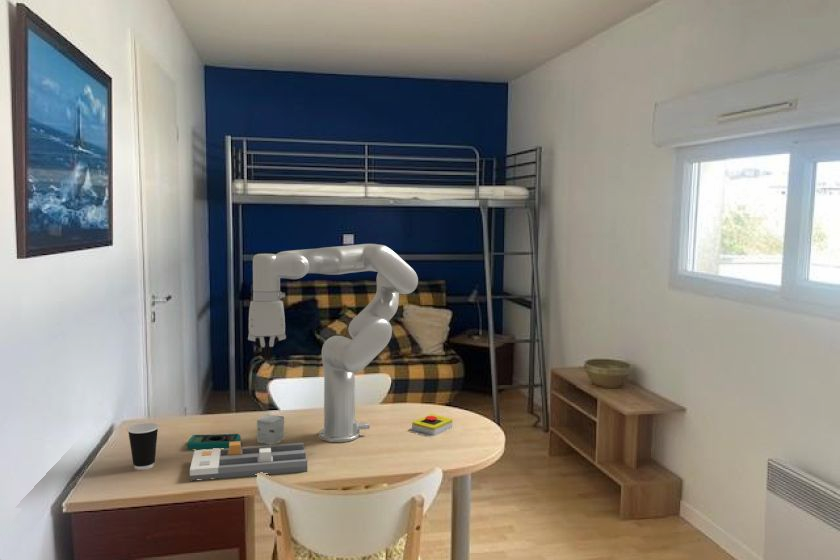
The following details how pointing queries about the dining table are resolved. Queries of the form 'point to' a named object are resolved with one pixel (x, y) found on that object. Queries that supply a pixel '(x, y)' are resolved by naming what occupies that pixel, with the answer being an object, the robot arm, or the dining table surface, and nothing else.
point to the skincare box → (270, 429)
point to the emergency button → (431, 425)
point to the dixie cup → (143, 444)
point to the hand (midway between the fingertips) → (267, 359)
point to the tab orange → (235, 448)
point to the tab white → (265, 455)
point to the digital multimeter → (212, 441)
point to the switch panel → (247, 462)
